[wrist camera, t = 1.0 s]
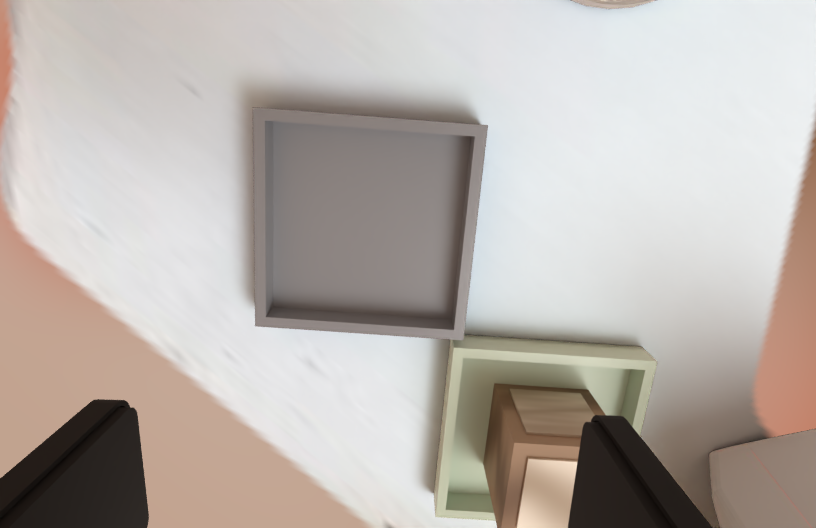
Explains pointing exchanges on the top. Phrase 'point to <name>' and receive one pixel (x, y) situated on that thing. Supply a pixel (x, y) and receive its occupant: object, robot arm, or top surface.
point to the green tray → (533, 366)
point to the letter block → (535, 452)
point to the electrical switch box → (766, 482)
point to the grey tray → (364, 222)
